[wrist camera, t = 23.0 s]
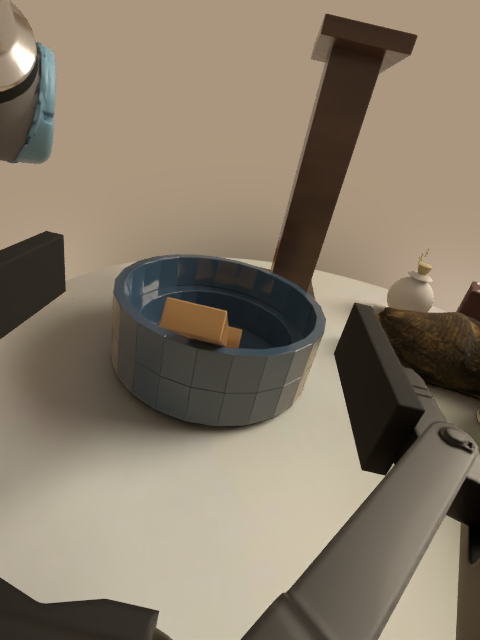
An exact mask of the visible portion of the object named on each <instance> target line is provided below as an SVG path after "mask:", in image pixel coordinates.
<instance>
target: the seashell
mask: <svg viewBox="0 0 480 640" xmlns="http://www.w3.org/2000/svg"><path fill="white" fill-rule="evenodd" d="M376 316H377V318H378V320H379V322H380V324H381V326H382V328H383V330H384V332H385V334H386V336H387V338H388V340H389V341H390V343H391V345H392V347H393V349H394V351H395V353H396V355H397V357H398V359H399V361H400V363H401V365H402V367H405V368H409V369H413V370H414V371H415V372H416V373H417V374H418V375H419V376H420V377H421V378H422V379H423V381H424V382H427V383H431V384H435V385H439V386H443V387H446V388H449V389H453V390H456V391H459V392H462V393H464V394H466V395H470V396H473V397H476V398H479V399H480V322H479V321H477V320H476V319H473V318H471V317H468V316H465V315H464V314H461V313H459V312H448V313H426V312H419V311H411V310H404V309H401V310H399V309H394V308H390V307H387V308H385V310H384V311H383V312H381V313H380V314H379V315H377V314H376Z"/></svg>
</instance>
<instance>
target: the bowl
mask: <svg viewBox="0 0 480 640" xmlns="http://www.w3.org/2000/svg"><path fill="white" fill-rule="evenodd" d="M167 297H169V298H174V299H178V300H182V301H186V302H191V303H195V304H199V305H203V306H208V307H212V308H216V309H220V310H225V311H227V318H228V326H229V327H233V328H237V329H241V330H242V334H241V339H240V343H239V347H238V348H227V347H222V346H216V345H211V344H205V343H200V342H197V341H195V340H192V339H189V338H187V337H185V336H182V335H180V334H177V333H174V332H172V331H169V330H166V329H163V328H161V327H160V326H159V325H160V321H161V317H162V314H163V310H164V306H165V302H166V298H167ZM325 323H326V319H325V316H324V314H323V311H322V309H321V306H320V305H319V304H318V303H317V302H316V301H315V300H314V298H313V297H312V296H311V295H310V294H308V293H307V292H306V291H304V290H303V289H302V288H300V287H299V286H298V285H296V284H294V283H292V282H291V281H289V280H287V279H285V278H283V277H281V276H279V275H277V274H275V273H272V272H270V271H268V270H265V269H263V268H260V267H257V266H253V265H250V264H247V263H243V262H239V261H235V260H230V259H225V258H220V257H213V256H204V255H178V254H177V255H166V256H157V257H152V258H149V259H145V260H141V261H138V262H136V263H134V264H132V265H130V266H128V267H126V268H125V269H124V270H123V271H122V272H121V273H120V274H119V275H118V276H117V278H116V279H115V284H114V291H113V318H112V348H111V360H112V363H113V366H114V369H115V372H116V374H117V377H118V378H119V380H120V381H121V382H122V383H123V384H124V385H125V387H126V388H127V389H128V390H129V391H130V392H131V394H133V395H134V396H135V397H137V398H138V399H140V400H141V401H143V402H144V403H146V404H147V405H149V406H150V407H152V408H153V409H155V410H156V411H159V412H162V413H164V414H167V415H170V416H172V417H175V418H178V419H180V420H183V421H186V422H192V423H198V424H204V425H211V426H241V425H249V424H253V423H257V422H260V421H264V420H268V419H271V418H274V417H275V416H277V415H278V414H280V413H282V412H283V411H285V410H287V409H288V408H290V407H291V406H292V405H293V403H294V402H295V401H296V399H297V398H298V397H299V395H300V394H301V392H302V390H303V387H304V384H305V382H306V379H307V376H308V374H309V371H310V368H311V366H312V363H313V360H314V358H315V355H316V352H317V350H318V347H319V344H320V342H321V339H322V336H323V334H324V330H325Z"/></svg>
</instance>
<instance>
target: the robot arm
mask: <svg viewBox="0 0 480 640" xmlns="http://www.w3.org/2000/svg"><path fill="white" fill-rule="evenodd" d="M55 92H56V70H55V57H54V54H53V53H52V51H51V50H50V49H49V48H47V47H45V46H43V45H42V44H41V43H39V42H36V41H35V38H34V35H33V32H32V28H31V27H30V25H29V23H28V21H27V19H26V18H25V17H24V15H23V14H22V12H21V11H20V10H19V9H18V8H17V7H16V5H14V4H13V3H12V2H11V1H10V0H0V160H3V161H7V162H10V163H18V162H23V163H34V164H40V163H43V162H45V161H46V160H48V158H49V157H50V154H51V149H52V143H53V131H54V118H53V117H54V109H55ZM65 291H66V289H65V264H64V239H63V235H61V234H57V233H52V232H48V231H45V232H43V233H40V234H38V235H36V236H33V237H31V238H29V239H26V240H24V241H21V242H19V243H17V244H14V245H12V246H9V247H7V248H5V249H2V250H0V339H1V338H3V337H4V336H5V335H7V334H8V333H9V332H11V331H12V330H14V329H15V328H16V327H18V326H19V325H20V324H22V323H23V322H24V321H26V320H27V319H29V318H30V317H31V316H33V315H34V314H35V313H37V312H38V311H39V310H41V309H42V308H43V307H45V306H46V305H48V304H49V303H50V302H52V301H53V300H54V299H56V298H57V297H58V296H60V295H61V294H63V293H64V292H65ZM334 355H335V360H336V364H337V368H338V372H339V376H340V381H341V385H342V389H343V393H344V397H345V402H346V406H347V410H348V414H349V418H350V423H351V427H352V431H353V435H354V439H355V444H356V448H357V452H358V456H359V460H360V465H361V469H362V470H364V471H368V472H373V473H377V474H381V475H386V474H387V472H388V471H389V469H390V468H391V466H392V464H393V463H394V465H395V466H394V467H393V468H392V469H391V470H390V471H389V473H388V474H387V475H386V476H385V477H384V479H383V480H382V481H381V482H380V483H379V484H378V486H377V487H376V488H375V489H374V490H373V492H372V493H371V494H370V495H369V496H368V497H367V499H366V500H365V501H364V502H363V503H362V504H361V506H360V507H359V508H358V509H357V510H356V512H355V513H354V514H353V515H352V516H351V517H350V519H349V520H348V521H347V522H346V523H345V525H344V526H343V527H342V528H341V529H340V530H339V532H338V533H337V534H336V535H335V536H334V537H333V539H332V540H331V541H330V542H329V543H328V545H327V546H326V547H325V548H324V549H323V550H322V552H321V553H320V554H319V555H318V556H317V558H316V559H315V560H314V561H313V562H312V563H311V565H310V566H309V567H308V568H307V569H306V571H305V572H304V573H303V574H302V575H301V576H300V578H299V579H298V580H297V581H296V582H295V583H294V585H293V586H292V587H291V588H290V589H289V590H288V591H287V592H286V593H282V594H281V595H280V596H279V597H278V598H277V599H276V600H275V601H274V602H273V603H272V604H271V605H270V606H269V607H268V608H267V610H266V611H265V612H264V613H263V614H262V615H261V617H260V618H259V619H258V620H257V621H256V622H255V624H254V625H253V626H252V627H251V628H250V629H249V631H248V632H247V633H246V634H245V635H244V636H243V637H242V639H241V640H378V638H379V636H380V634H381V633H382V631H383V629H384V627H385V625H386V623H387V622H388V620H389V618H390V616H391V614H392V612H393V611H394V609H395V607H396V605H397V603H398V601H399V600H400V598H401V596H402V594H403V592H404V590H405V588H406V587H407V585H408V583H409V581H410V579H411V577H412V576H413V574H414V572H415V570H416V568H417V566H418V565H419V563H420V561H421V559H422V557H423V555H424V554H425V552H426V550H427V548H428V546H429V544H430V543H431V541H432V539H433V537H434V535H435V533H436V531H437V530H438V528H439V526H440V524H441V522H442V520H443V519H444V517H445V515H447V516H449V517H451V518H453V519H455V520H457V521H459V522H461V535H460V558H459V581H458V604H457V626H456V640H480V453H479V448H478V446H477V444H476V442H475V441H474V440H473V439H472V438H471V437H470V436H469V435H468V434H467V433H466V432H464V431H463V430H462V429H460V428H459V427H457V426H455V425H453V424H451V423H447V421H446V419H445V417H444V416H443V414H442V412H441V410H440V409H439V407H438V405H437V403H436V402H435V400H434V399H432V398H433V396H432V395H431V393H430V391H428V388H427V386H426V384H425V383H424V381H423V379H422V378H421V377H420V376H419V375H418V374H417V373H416V372H415V371H414V370H413V369H409V368H405V367H402V365H401V363H400V361H399V359H398V357H397V355H396V353H395V351H394V349H393V347H392V345H391V343H390V341H389V340H388V338H387V336H386V334H385V332H384V330H383V328H382V326H381V324H380V322H379V320H378V318H377V316H376V314H375V312H374V311H373V309H372V307H371V306H367V305H362V304H358V303H354V305H353V308H352V310H351V313H350V315H349V318H348V320H347V323H346V325H345V327H344V330H343V332H342V335H341V337H340V340H339V342H338V345H337V347H336V350H335V352H334ZM158 614H159V611H157V610H153V609H149V608H144V607H140V606H135V605H131V604H126V603H122V602H118V601H113V600H109V599H97V600H85V601H72V602H60V603H48V604H44V603H39V602H37V601H35V600H34V599H32V598H31V597H29V596H28V595H26V594H24V593H23V592H21V591H20V590H18V589H17V588H15V587H14V586H12V585H11V584H9V583H8V582H6V581H5V580H3V579H2V578H0V640H172V639H171V638H170V637H169V636H168V635H166V634H165V633H163V632H162V631H160V630H159V629H157V628H156V624H157V619H158Z"/></svg>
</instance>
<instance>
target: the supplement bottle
mask: <svg viewBox="0 0 480 640" xmlns="http://www.w3.org/2000/svg"><path fill="white" fill-rule="evenodd" d="M477 418H478V421H479V423H480V408H479V409H478V411H477Z"/></svg>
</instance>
